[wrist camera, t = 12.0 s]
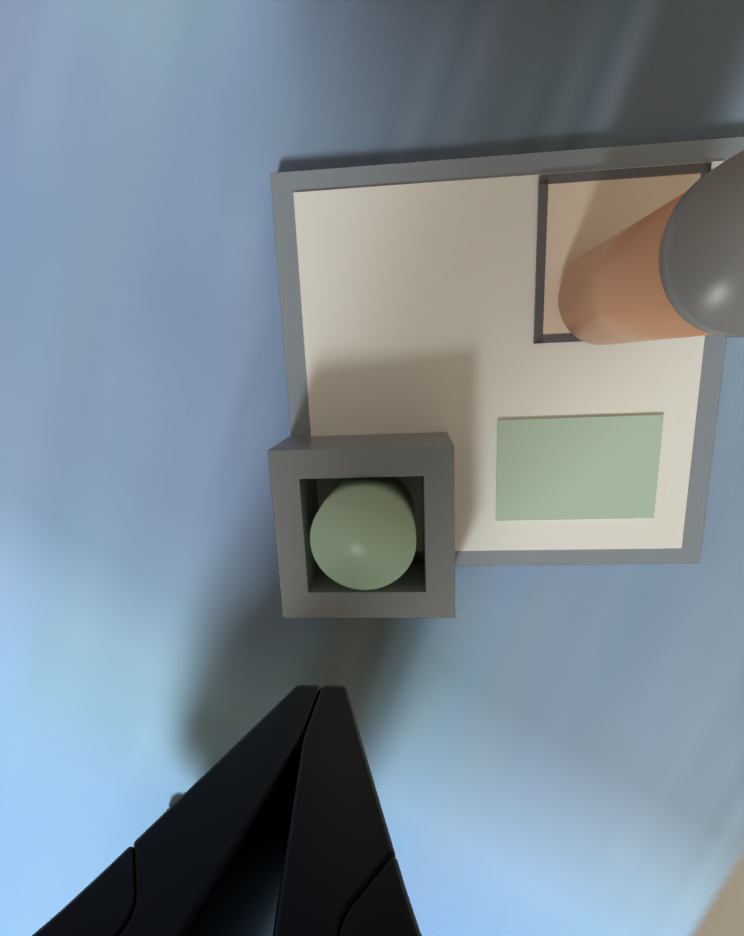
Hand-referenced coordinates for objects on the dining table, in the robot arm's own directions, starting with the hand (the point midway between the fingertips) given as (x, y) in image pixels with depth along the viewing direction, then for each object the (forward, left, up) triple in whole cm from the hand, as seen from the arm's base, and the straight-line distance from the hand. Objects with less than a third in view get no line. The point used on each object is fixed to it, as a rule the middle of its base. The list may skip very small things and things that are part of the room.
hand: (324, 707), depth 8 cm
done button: (0, 0, -11) cm, 11 cm away
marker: (+7, -8, -11) cm, 16 cm away
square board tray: (+5, -5, -12) cm, 14 cm away
